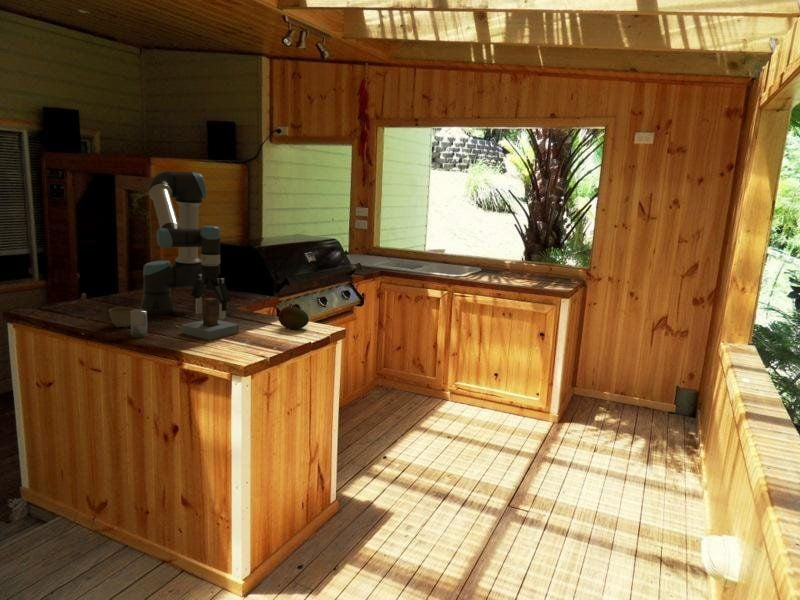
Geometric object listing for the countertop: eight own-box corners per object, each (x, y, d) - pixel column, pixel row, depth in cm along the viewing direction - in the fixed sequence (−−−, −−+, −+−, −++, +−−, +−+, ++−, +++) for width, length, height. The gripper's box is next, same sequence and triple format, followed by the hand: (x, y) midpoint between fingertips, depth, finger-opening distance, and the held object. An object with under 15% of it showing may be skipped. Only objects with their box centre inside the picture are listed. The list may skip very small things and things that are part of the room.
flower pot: (141, 325, 254) (140, 308, 253) (123, 330, 245) (122, 313, 244) (122, 322, 258) (121, 306, 256) (103, 327, 248) (103, 310, 247)
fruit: (274, 327, 265) (275, 304, 263) (300, 324, 273) (300, 302, 271) (286, 333, 256) (287, 310, 254) (312, 330, 264) (313, 307, 262)
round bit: (127, 335, 238) (127, 310, 236) (140, 332, 243) (140, 308, 241) (137, 338, 235) (137, 313, 233) (150, 335, 240) (150, 310, 238)
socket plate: (181, 333, 246) (181, 324, 245) (211, 326, 260) (211, 318, 259) (209, 340, 238) (209, 331, 238) (238, 332, 252) (238, 324, 252)
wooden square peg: (203, 332, 248) (202, 298, 246) (210, 330, 252) (210, 297, 249) (210, 333, 246) (210, 300, 244) (217, 332, 250) (217, 298, 247)
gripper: (181, 261, 246) (182, 312, 250) (226, 269, 235) (225, 322, 239) (196, 260, 253) (196, 310, 257) (240, 267, 241) (239, 319, 245)
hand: (210, 316), depth 248 cm, fingers open, 13 cm apart
